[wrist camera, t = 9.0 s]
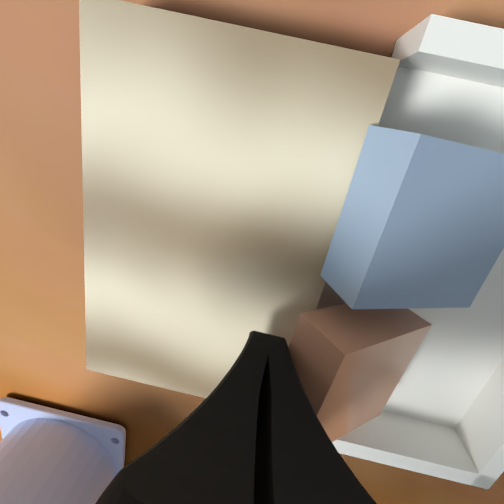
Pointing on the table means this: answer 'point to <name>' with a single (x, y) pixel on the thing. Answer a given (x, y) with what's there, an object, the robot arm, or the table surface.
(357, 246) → the slate tile
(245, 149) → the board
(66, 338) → the table surface
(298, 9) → the table surface
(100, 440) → the robot arm
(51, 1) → the table surface
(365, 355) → the terracotta tile
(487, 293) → the tray
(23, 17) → the table surface
